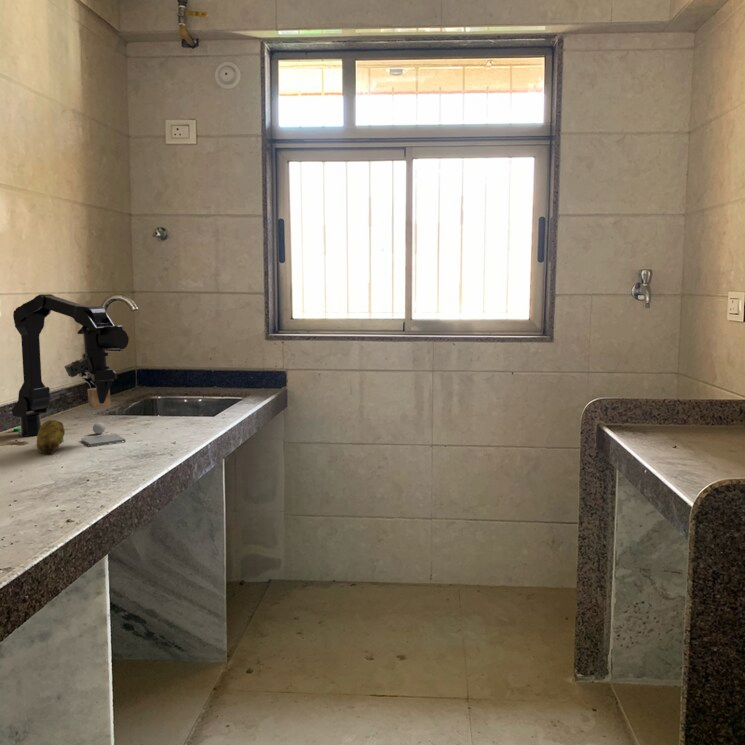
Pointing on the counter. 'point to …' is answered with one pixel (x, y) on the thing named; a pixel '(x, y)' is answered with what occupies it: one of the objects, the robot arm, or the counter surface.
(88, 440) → the slate board
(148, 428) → the counter surface
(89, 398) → the tan block
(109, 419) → the counter surface
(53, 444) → the potato
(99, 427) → the grey ball
